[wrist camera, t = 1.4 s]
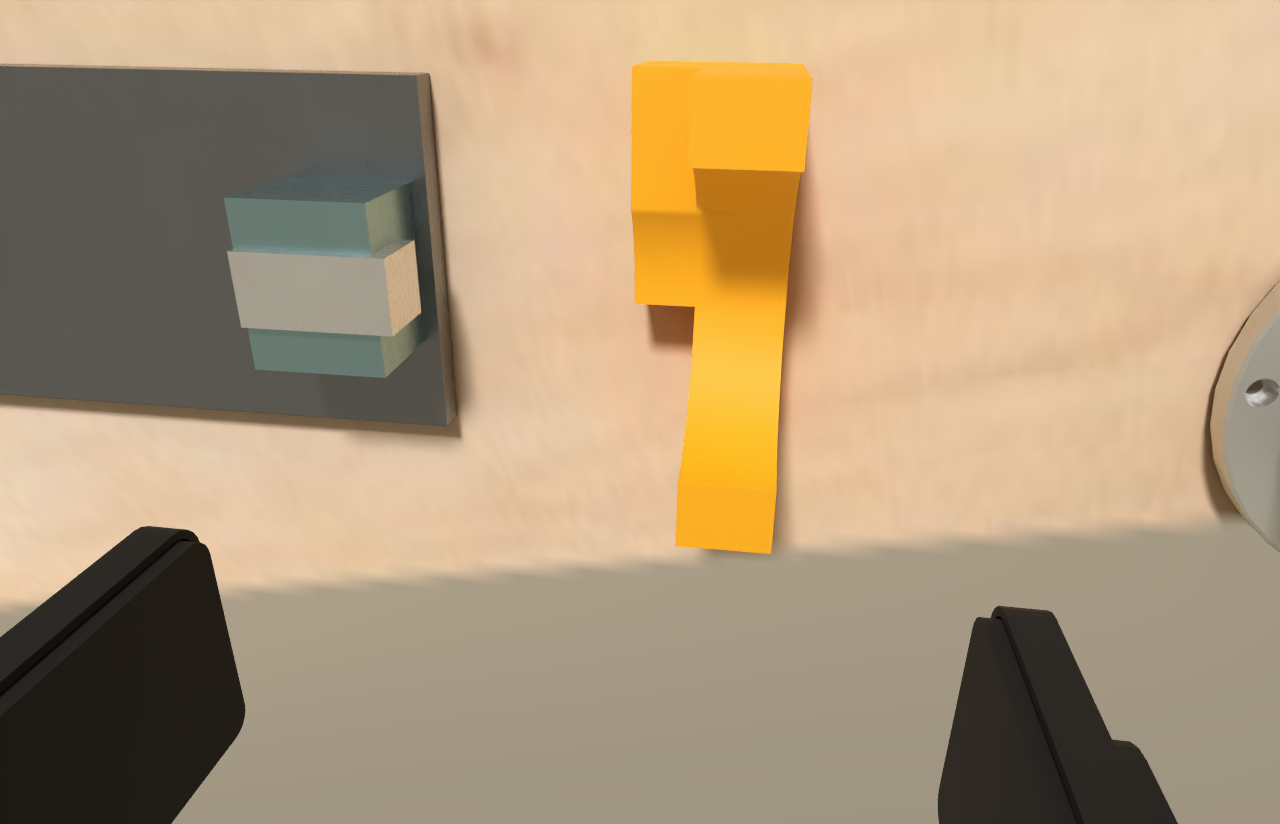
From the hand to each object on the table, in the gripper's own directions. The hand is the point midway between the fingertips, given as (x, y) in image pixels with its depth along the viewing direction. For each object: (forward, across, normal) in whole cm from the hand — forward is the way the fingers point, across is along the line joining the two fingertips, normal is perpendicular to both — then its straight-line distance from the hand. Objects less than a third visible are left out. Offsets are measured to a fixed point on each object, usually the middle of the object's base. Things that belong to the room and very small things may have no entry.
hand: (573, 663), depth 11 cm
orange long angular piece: (+19, 0, 0) cm, 19 cm away
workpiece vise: (+18, +20, 0) cm, 27 cm away
